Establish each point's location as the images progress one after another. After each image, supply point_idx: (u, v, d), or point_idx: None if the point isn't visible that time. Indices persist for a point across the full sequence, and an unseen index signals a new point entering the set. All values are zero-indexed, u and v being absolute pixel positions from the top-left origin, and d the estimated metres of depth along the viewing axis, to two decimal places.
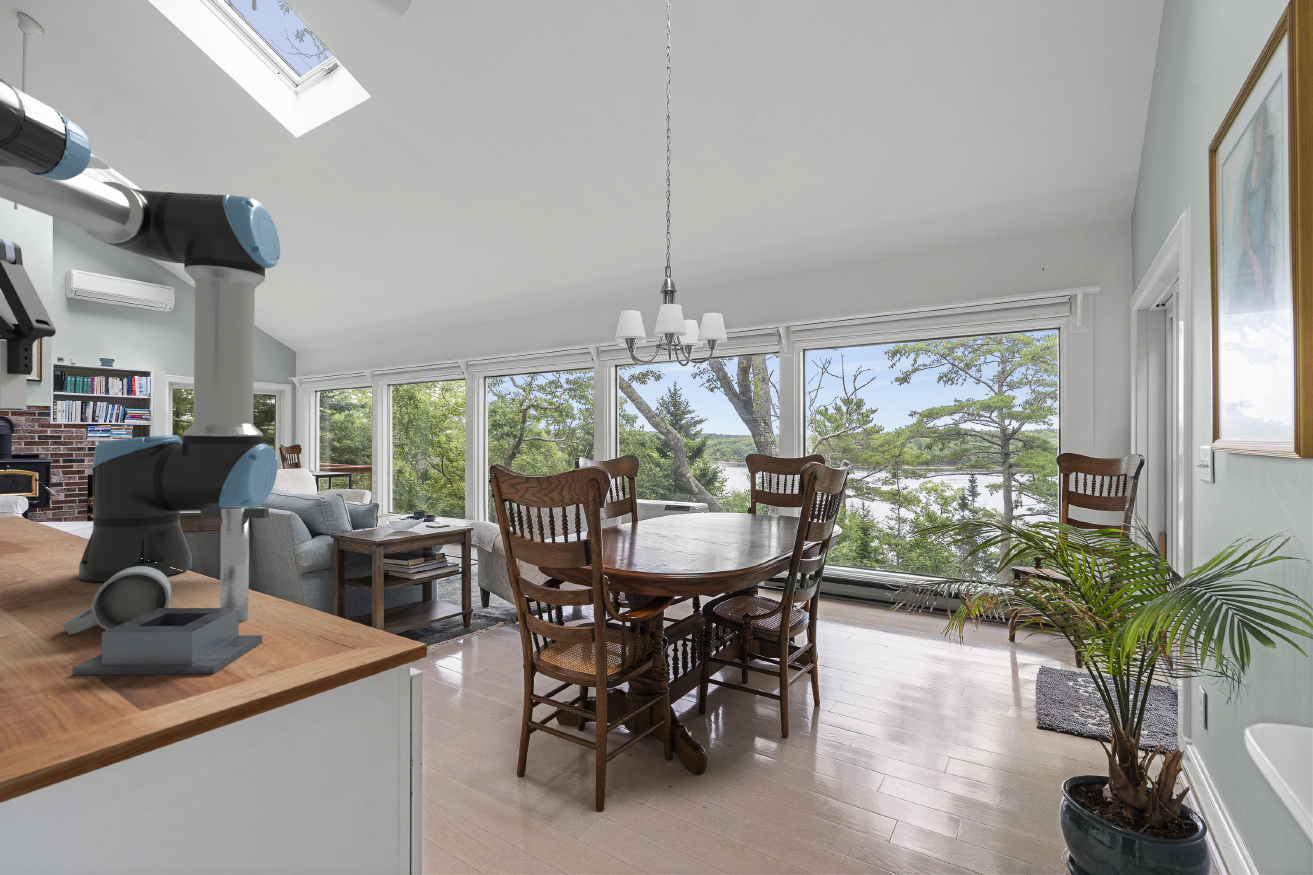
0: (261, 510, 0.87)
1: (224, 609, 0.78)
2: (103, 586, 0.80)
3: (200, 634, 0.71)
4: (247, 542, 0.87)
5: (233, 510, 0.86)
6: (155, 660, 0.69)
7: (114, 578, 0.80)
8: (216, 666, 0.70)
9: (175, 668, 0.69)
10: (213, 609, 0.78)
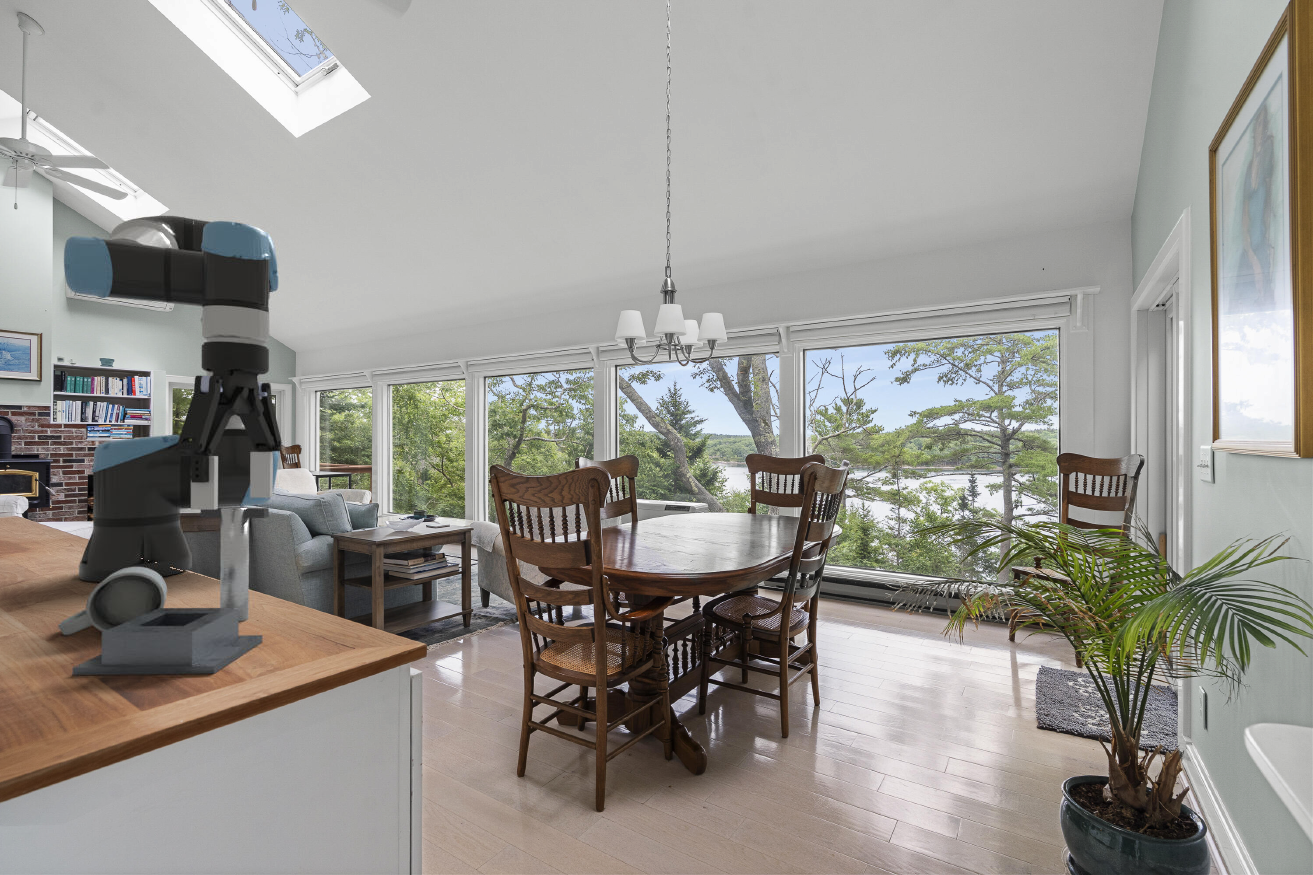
0: (261, 510, 0.87)
1: (224, 609, 0.78)
2: (98, 587, 0.79)
3: (200, 634, 0.71)
4: (247, 542, 0.87)
5: (233, 510, 0.86)
6: (155, 660, 0.69)
7: (109, 579, 0.80)
8: (216, 666, 0.70)
9: (175, 668, 0.69)
10: (213, 609, 0.78)
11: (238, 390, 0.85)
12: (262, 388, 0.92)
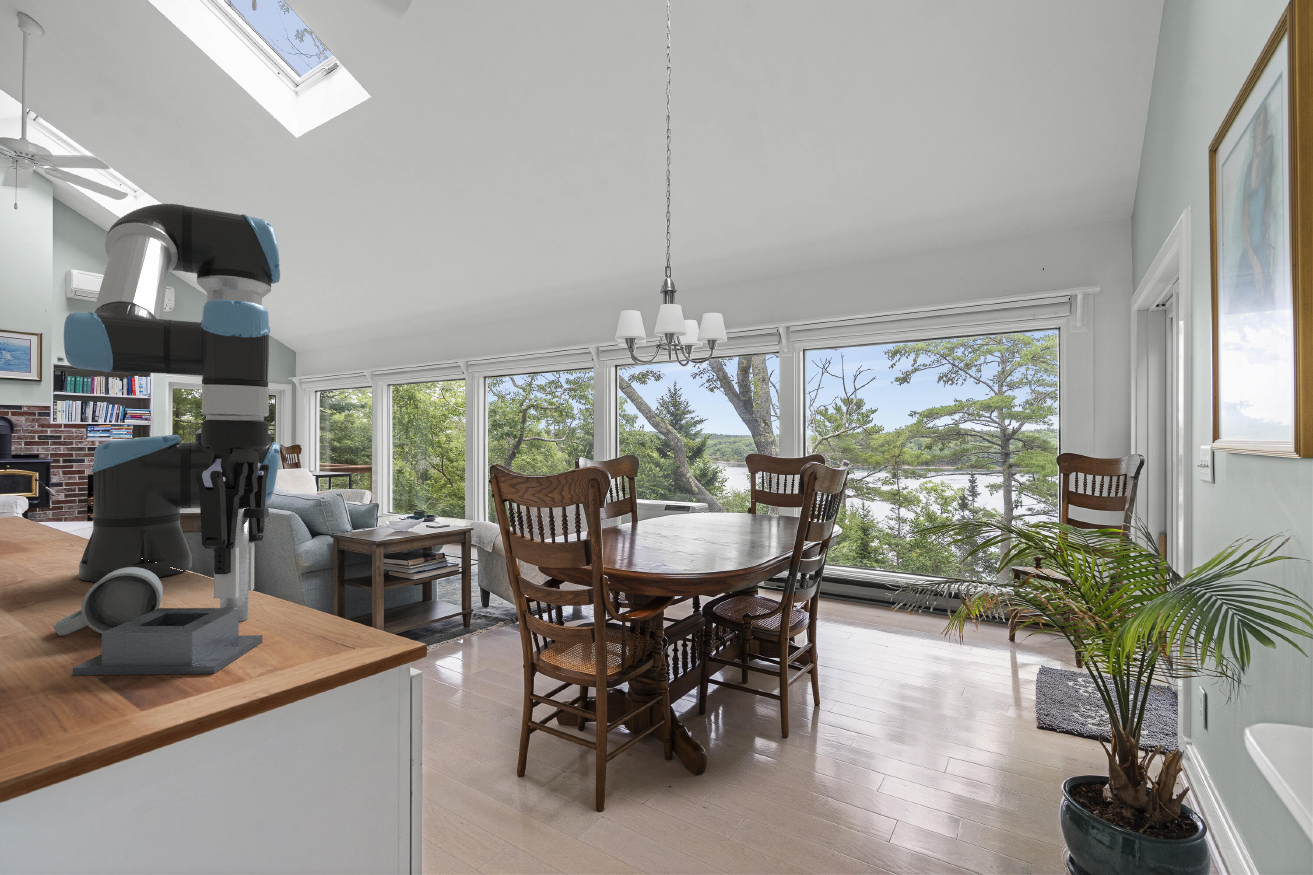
0: (261, 510, 0.87)
1: (224, 609, 0.78)
2: (93, 587, 0.79)
3: (200, 634, 0.71)
4: (247, 542, 0.87)
5: None
6: (155, 660, 0.69)
7: (104, 579, 0.80)
8: (216, 666, 0.70)
9: (175, 668, 0.69)
10: (213, 609, 0.78)
11: (238, 470, 0.85)
12: (260, 468, 0.92)
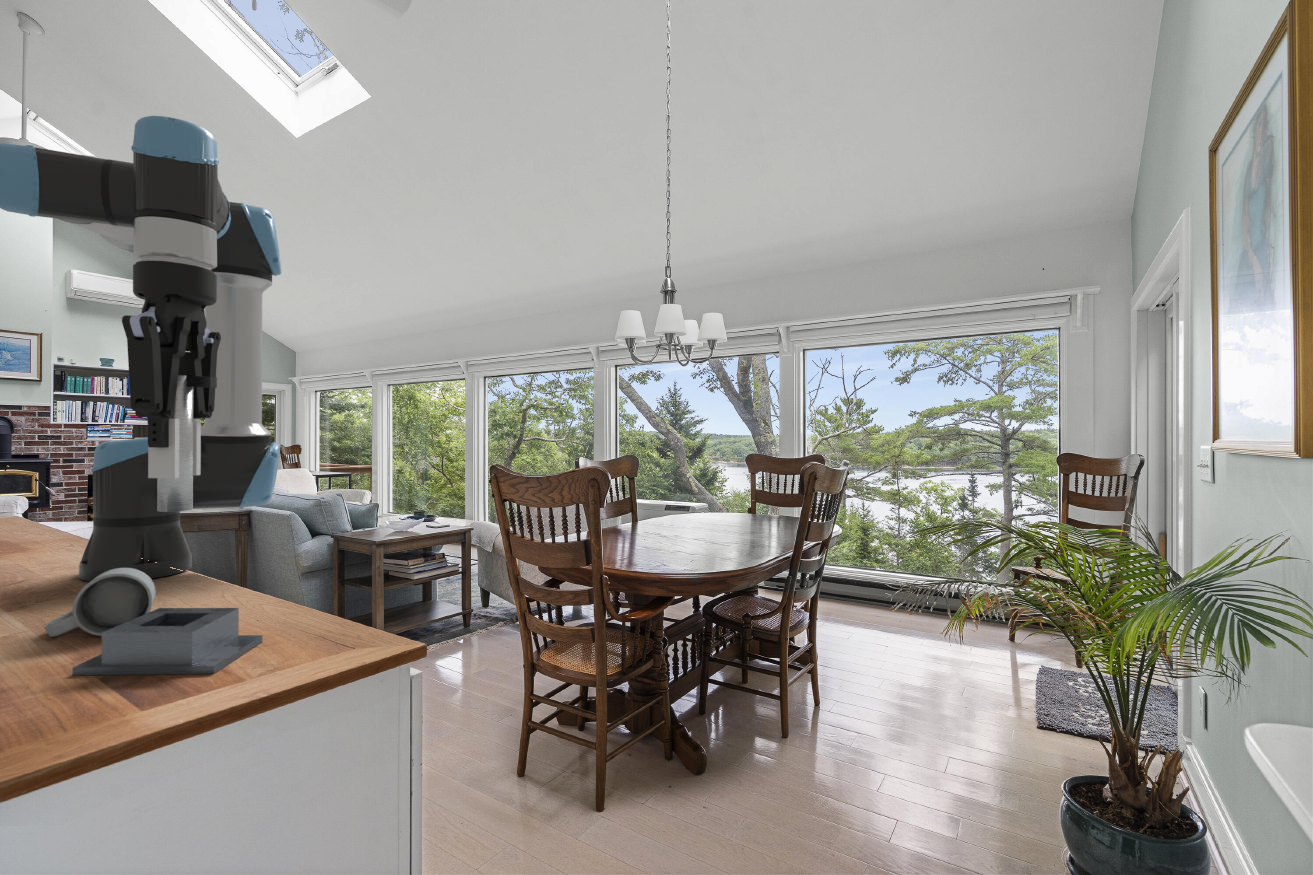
0: (207, 378, 0.72)
1: (224, 609, 0.78)
2: (84, 588, 0.79)
3: (200, 634, 0.71)
4: (191, 417, 0.73)
5: None
6: (155, 660, 0.69)
7: (96, 580, 0.79)
8: (216, 666, 0.70)
9: (175, 668, 0.69)
10: (213, 609, 0.78)
11: (178, 324, 0.71)
12: (210, 335, 0.78)
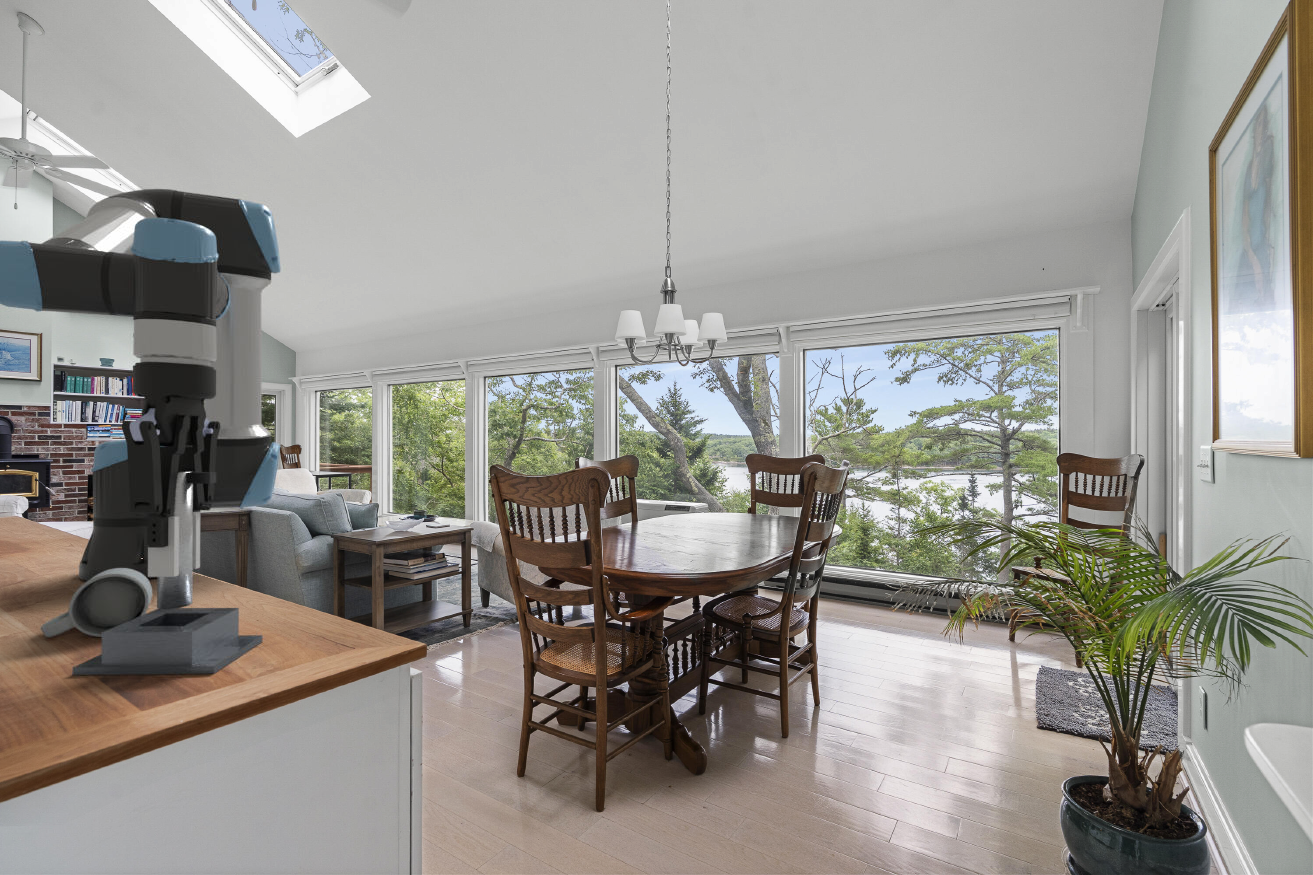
0: (206, 474, 0.73)
1: (224, 609, 0.78)
2: (81, 588, 0.79)
3: (200, 634, 0.71)
4: (190, 513, 0.73)
5: None
6: (155, 660, 0.69)
7: (92, 580, 0.79)
8: (216, 666, 0.70)
9: (175, 668, 0.69)
10: (213, 609, 0.78)
11: (177, 423, 0.71)
12: (209, 425, 0.78)
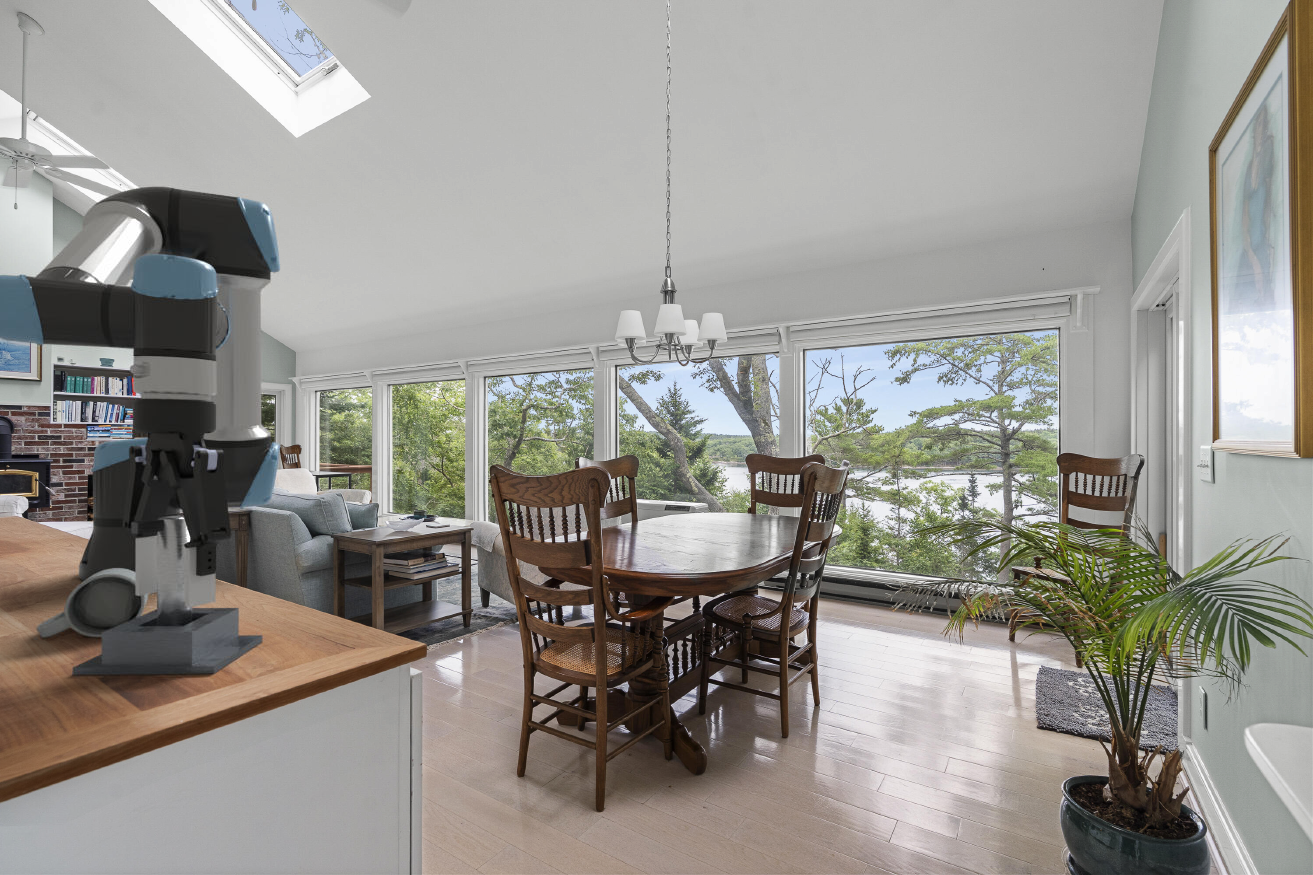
0: None
1: (224, 609, 0.78)
2: (76, 588, 0.78)
3: (200, 634, 0.71)
4: None
5: None
6: (155, 660, 0.69)
7: (88, 580, 0.79)
8: (216, 666, 0.70)
9: (175, 668, 0.69)
10: (213, 609, 0.78)
11: None
12: None
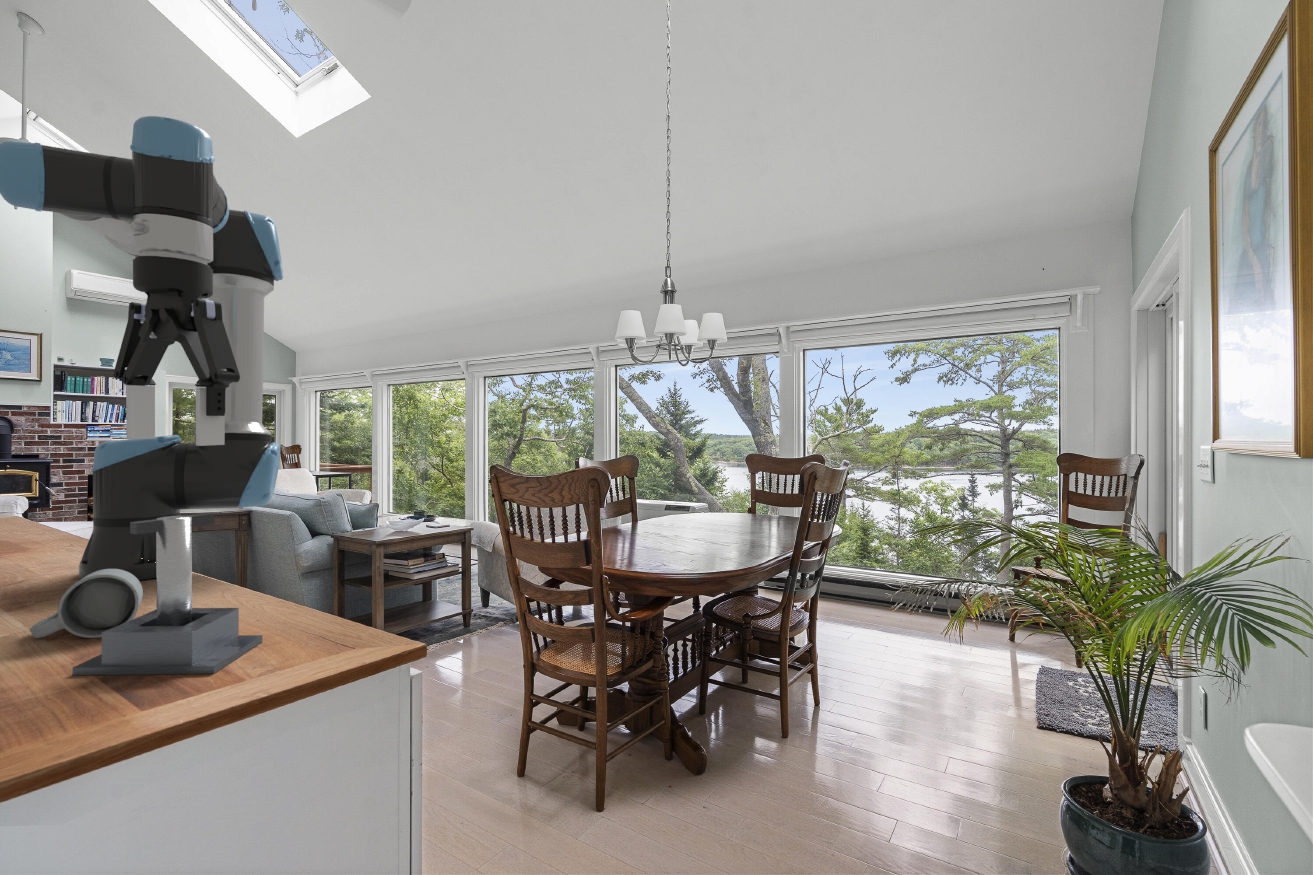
0: (211, 515, 0.76)
1: (224, 609, 0.78)
2: (70, 589, 0.78)
3: (200, 634, 0.71)
4: None
5: (186, 519, 0.73)
6: (155, 660, 0.69)
7: (81, 581, 0.79)
8: (216, 666, 0.70)
9: (175, 668, 0.69)
10: (213, 609, 0.78)
11: None
12: None
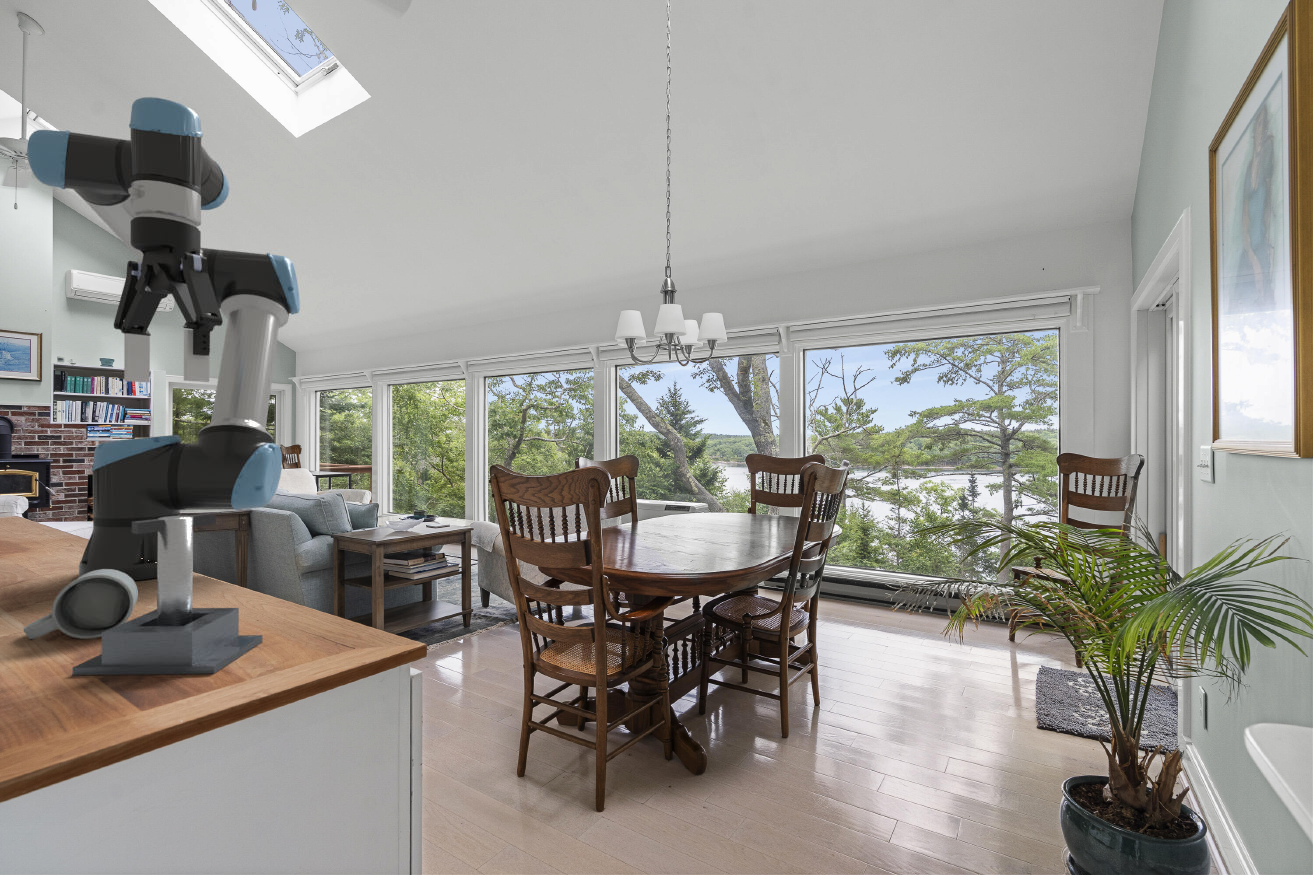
0: (213, 515, 0.76)
1: (224, 609, 0.78)
2: (64, 589, 0.78)
3: (200, 634, 0.71)
4: None
5: (188, 519, 0.73)
6: (155, 660, 0.69)
7: (76, 581, 0.78)
8: (216, 666, 0.70)
9: (175, 668, 0.69)
10: (213, 609, 0.78)
11: None
12: None
